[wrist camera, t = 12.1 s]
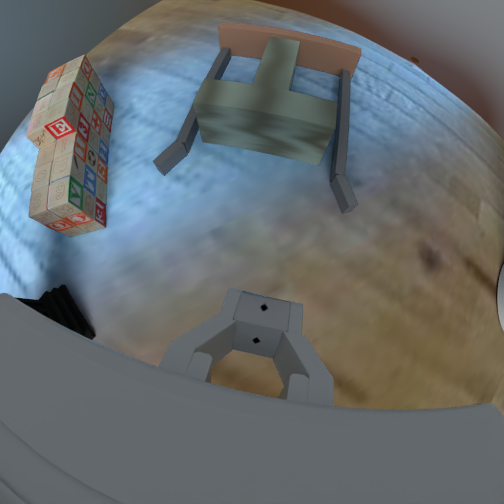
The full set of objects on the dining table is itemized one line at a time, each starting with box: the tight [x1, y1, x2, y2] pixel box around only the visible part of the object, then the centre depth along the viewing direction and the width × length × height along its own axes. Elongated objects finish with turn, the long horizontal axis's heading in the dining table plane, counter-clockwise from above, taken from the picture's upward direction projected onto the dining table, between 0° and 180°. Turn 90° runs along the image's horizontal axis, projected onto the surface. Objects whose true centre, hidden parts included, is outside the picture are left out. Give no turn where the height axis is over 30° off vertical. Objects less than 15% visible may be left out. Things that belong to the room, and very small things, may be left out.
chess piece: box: [16, 285, 95, 340], centre depth 18 cm, size 8×8×20 cm
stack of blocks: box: [26, 55, 114, 237], centre depth 27 cm, size 21×6×12 cm, turn 11°
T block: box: [193, 36, 337, 165], centre depth 30 cm, size 15×15×8 cm
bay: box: [153, 22, 361, 214], centre depth 31 cm, size 24×27×6 cm
